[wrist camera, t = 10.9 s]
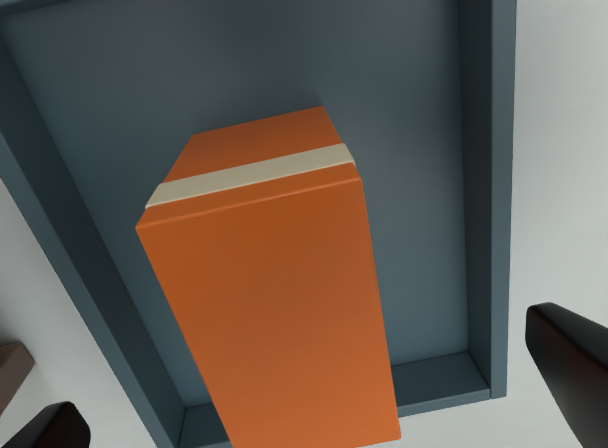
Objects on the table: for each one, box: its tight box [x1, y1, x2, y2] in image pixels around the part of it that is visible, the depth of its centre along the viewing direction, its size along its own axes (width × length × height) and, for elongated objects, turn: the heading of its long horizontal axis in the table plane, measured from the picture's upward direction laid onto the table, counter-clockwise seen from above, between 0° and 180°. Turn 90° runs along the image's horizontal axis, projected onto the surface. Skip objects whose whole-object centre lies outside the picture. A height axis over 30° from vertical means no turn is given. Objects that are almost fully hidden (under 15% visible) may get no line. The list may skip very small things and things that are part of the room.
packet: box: [135, 106, 401, 448], centre depth 11 cm, size 4×7×6 cm, turn 12°
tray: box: [0, 0, 517, 448], centre depth 13 cm, size 13×16×2 cm
